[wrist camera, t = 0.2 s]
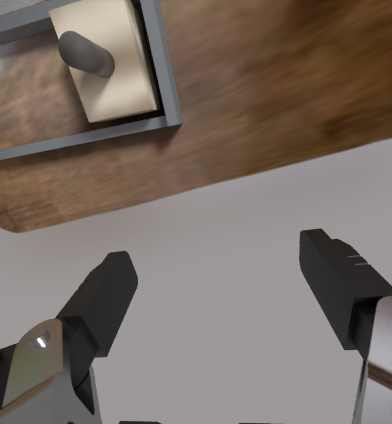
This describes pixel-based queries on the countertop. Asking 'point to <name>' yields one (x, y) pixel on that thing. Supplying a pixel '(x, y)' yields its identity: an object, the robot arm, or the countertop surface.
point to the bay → (41, 21)
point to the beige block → (107, 58)
